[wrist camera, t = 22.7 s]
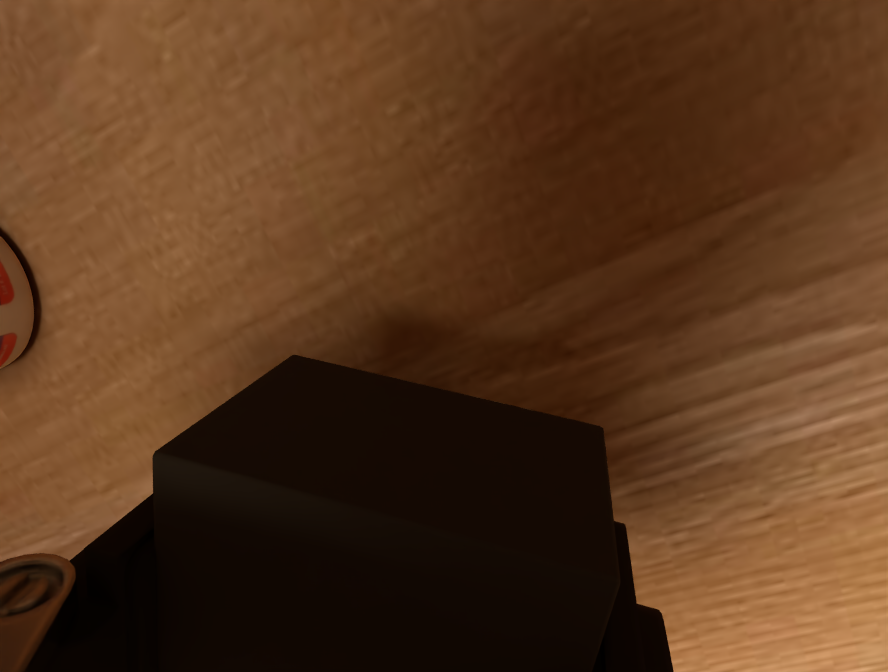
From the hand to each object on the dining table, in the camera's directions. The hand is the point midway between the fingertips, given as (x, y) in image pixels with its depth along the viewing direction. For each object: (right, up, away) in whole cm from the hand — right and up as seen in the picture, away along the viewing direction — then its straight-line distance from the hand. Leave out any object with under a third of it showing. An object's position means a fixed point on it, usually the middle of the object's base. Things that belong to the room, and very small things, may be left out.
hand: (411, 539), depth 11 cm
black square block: (0, 0, +1) cm, 1 cm away
